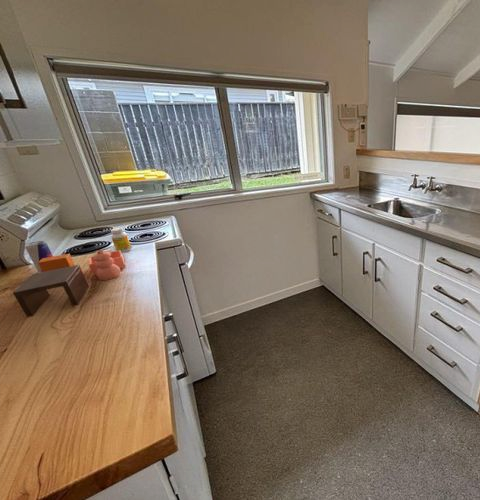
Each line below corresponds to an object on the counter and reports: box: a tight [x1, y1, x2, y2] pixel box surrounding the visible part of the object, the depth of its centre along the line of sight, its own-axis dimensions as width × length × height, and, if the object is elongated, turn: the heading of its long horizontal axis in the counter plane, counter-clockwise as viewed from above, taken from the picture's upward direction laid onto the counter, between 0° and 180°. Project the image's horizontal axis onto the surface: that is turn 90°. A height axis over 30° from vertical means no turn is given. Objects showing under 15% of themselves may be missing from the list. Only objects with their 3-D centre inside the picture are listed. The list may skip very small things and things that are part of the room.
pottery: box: [88, 249, 126, 281], centre depth 102 cm, size 18×10×10 cm, turn 39°
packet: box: [38, 253, 76, 272], centre depth 96 cm, size 7×4×9 cm, turn 120°
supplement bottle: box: [110, 227, 133, 253], centre depth 121 cm, size 5×5×10 cm
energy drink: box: [24, 240, 53, 273], centre depth 102 cm, size 5×5×12 cm
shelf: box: [12, 264, 90, 318], centre depth 85 cm, size 11×13×8 cm
